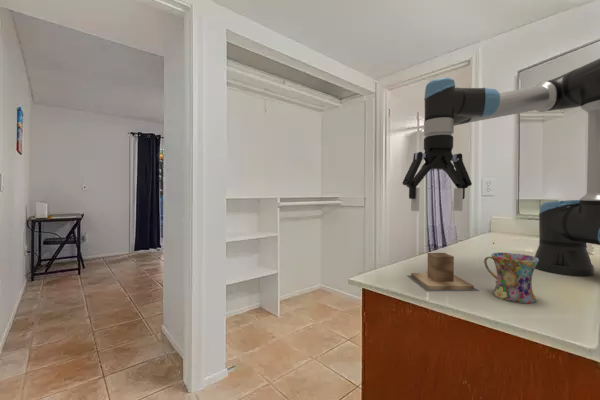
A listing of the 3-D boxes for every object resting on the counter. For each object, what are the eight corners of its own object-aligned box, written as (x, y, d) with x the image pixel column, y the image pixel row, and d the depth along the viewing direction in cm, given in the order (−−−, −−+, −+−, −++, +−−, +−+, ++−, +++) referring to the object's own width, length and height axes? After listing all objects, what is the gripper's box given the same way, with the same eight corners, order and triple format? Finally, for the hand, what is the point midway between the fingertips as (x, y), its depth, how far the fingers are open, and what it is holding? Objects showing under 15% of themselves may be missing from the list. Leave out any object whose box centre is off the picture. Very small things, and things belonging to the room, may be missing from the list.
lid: (450, 276, 87) (450, 250, 86) (473, 289, 75) (474, 259, 74) (411, 276, 87) (411, 250, 87) (428, 289, 75) (428, 259, 75)
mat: (451, 277, 88) (451, 275, 88) (480, 293, 74) (480, 290, 74) (406, 277, 88) (406, 275, 88) (426, 293, 74) (426, 291, 74)
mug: (547, 303, 67) (548, 258, 67) (522, 309, 63) (523, 262, 63) (495, 287, 78) (496, 249, 78) (472, 292, 74) (472, 252, 74)
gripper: (467, 140, 86) (465, 209, 87) (391, 136, 82) (389, 210, 82) (487, 135, 79) (485, 211, 79) (405, 131, 74) (403, 211, 75)
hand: (436, 210), depth 81 cm, fingers open, 13 cm apart
